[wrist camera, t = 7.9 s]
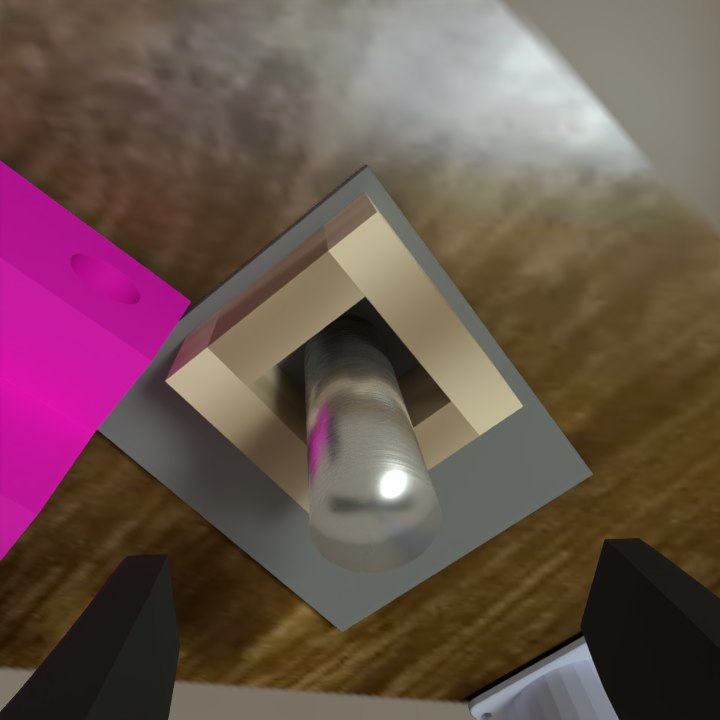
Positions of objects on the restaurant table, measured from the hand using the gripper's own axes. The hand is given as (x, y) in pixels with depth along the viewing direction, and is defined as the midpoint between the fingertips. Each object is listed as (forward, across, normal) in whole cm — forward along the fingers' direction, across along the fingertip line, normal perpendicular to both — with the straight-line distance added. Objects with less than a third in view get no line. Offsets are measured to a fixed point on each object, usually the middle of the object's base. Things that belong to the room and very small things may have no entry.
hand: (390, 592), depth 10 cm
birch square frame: (+10, 0, 0) cm, 10 cm away
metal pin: (+10, 0, 0) cm, 10 cm away
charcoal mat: (+10, 0, +4) cm, 11 cm away
